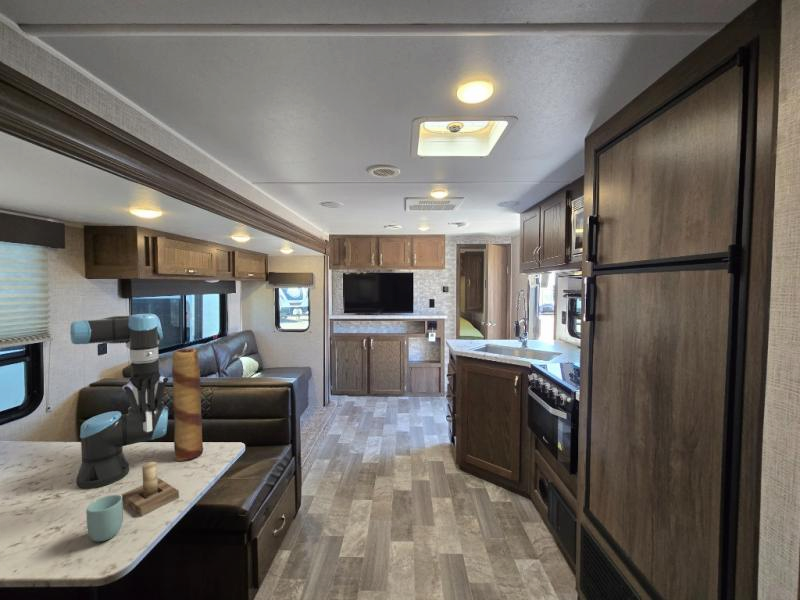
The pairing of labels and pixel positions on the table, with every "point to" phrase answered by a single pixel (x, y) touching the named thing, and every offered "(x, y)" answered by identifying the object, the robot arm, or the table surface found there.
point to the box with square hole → (150, 498)
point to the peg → (150, 479)
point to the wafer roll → (187, 404)
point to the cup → (104, 517)
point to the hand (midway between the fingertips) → (147, 430)
